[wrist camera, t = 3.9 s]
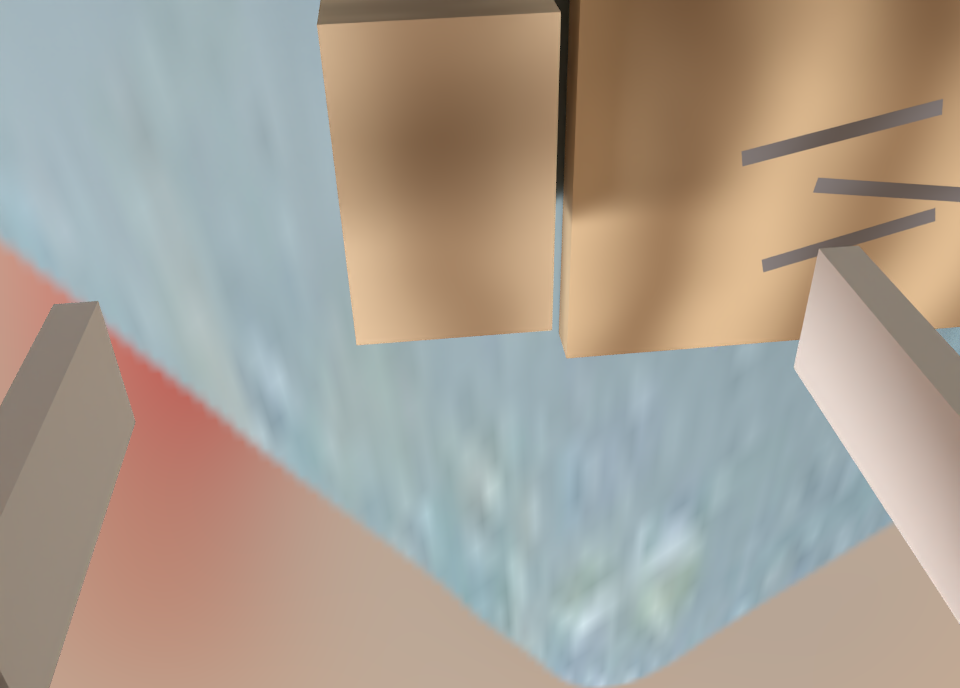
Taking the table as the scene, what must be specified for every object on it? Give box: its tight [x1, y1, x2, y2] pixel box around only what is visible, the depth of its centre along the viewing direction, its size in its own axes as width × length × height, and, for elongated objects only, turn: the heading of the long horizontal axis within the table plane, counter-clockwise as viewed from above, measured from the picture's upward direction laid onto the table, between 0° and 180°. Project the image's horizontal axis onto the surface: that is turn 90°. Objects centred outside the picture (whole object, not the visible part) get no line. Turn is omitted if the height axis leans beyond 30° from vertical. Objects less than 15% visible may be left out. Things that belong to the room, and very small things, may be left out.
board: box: [559, 0, 960, 358], centre depth 29 cm, size 18×12×2 cm, turn 91°
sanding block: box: [317, 0, 561, 345], centre depth 24 cm, size 5×8×7 cm, turn 1°
